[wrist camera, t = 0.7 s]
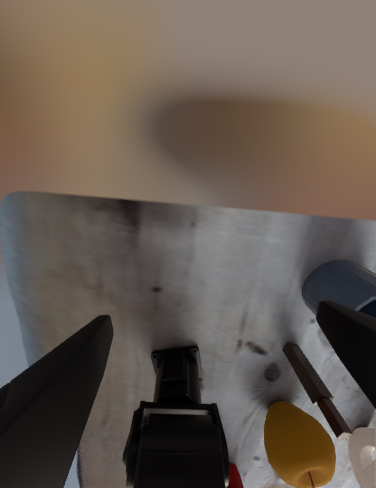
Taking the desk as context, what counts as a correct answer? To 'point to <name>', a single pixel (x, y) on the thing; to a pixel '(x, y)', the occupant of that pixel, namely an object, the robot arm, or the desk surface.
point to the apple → (298, 446)
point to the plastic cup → (234, 477)
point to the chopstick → (316, 390)
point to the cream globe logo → (363, 456)
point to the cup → (342, 287)
